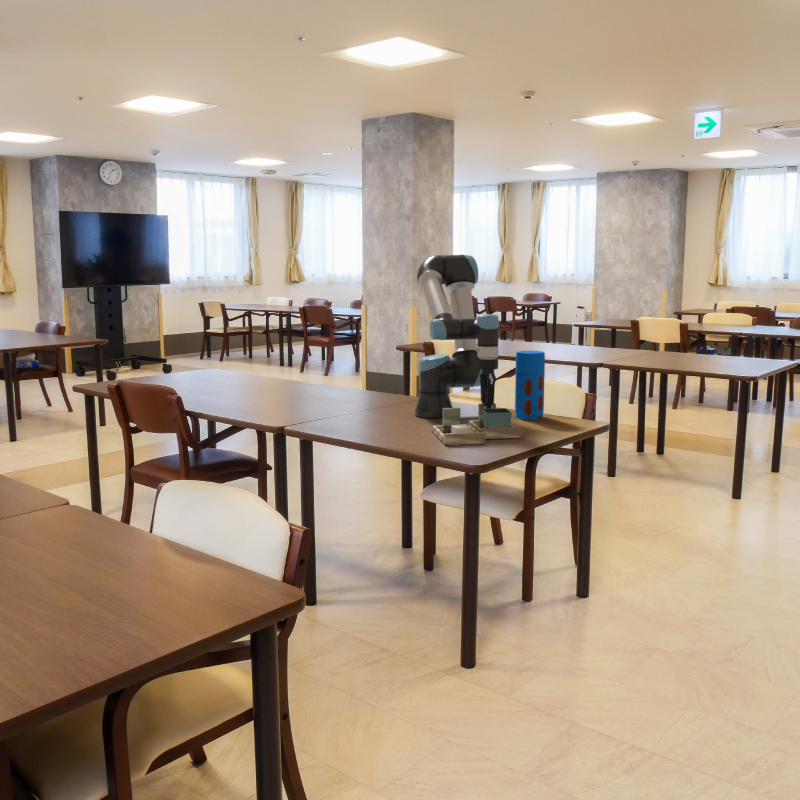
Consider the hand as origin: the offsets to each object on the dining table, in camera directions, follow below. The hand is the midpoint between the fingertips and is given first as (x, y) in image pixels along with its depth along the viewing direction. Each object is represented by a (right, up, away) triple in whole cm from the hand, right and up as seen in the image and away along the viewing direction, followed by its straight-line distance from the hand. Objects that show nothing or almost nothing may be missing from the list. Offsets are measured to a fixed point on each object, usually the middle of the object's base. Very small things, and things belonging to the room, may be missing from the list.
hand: (487, 422), depth 301 cm
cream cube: (-11, -6, -23) cm, 26 cm away
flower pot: (+1, -4, -17) cm, 17 cm away
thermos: (+18, +1, +18) cm, 26 cm away
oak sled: (+2, -3, -10) cm, 11 cm away
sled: (-12, -5, -18) cm, 22 cm away
